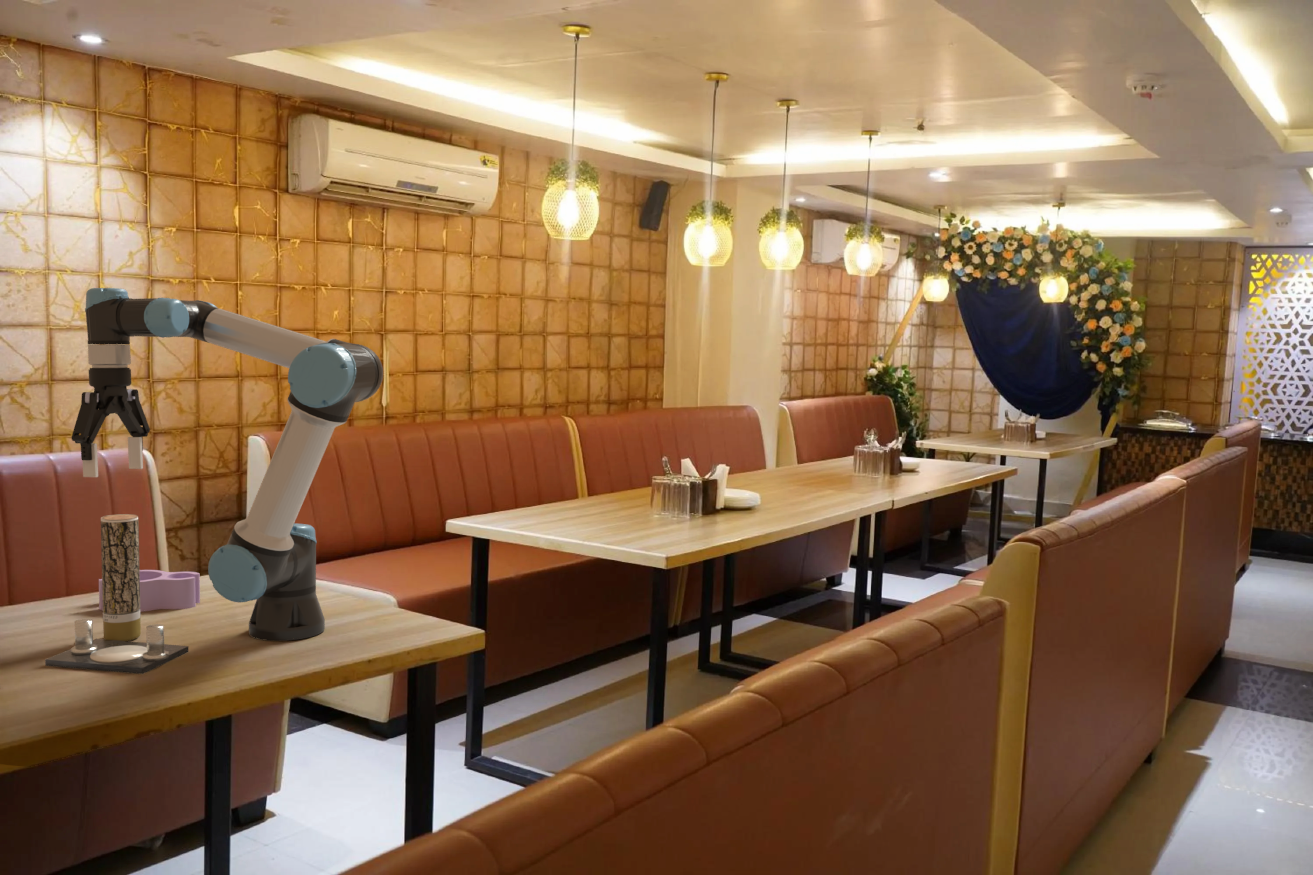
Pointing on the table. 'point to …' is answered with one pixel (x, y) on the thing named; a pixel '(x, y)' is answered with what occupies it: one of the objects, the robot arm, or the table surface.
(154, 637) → the collar post
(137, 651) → the white dome cap
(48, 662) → the plate
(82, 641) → the collar post
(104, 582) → the paper tube
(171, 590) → the clip
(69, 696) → the table surface
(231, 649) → the table surface
